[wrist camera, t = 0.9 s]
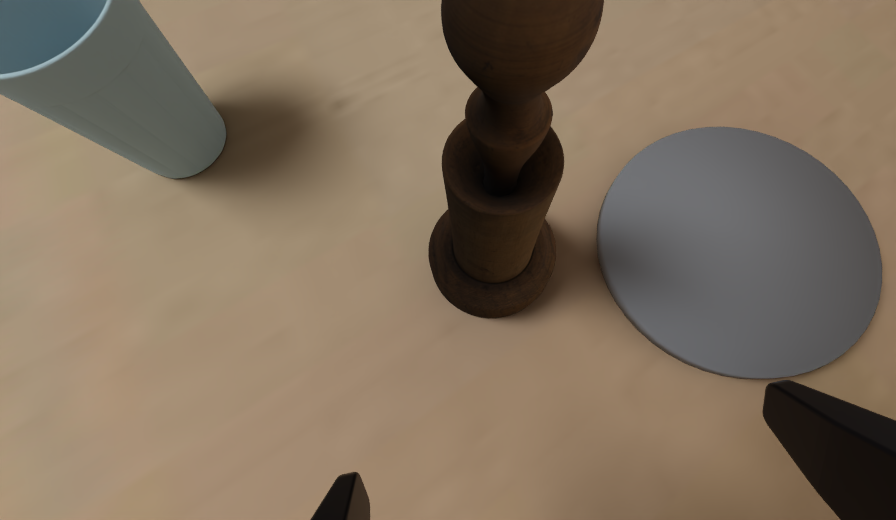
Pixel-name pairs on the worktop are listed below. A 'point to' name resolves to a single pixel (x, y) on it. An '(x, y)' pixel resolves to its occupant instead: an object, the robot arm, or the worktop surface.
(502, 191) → the wooden pepper mill
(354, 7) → the worktop surface
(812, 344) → the mat
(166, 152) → the cup
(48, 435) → the worktop surface
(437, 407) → the worktop surface
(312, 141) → the worktop surface
